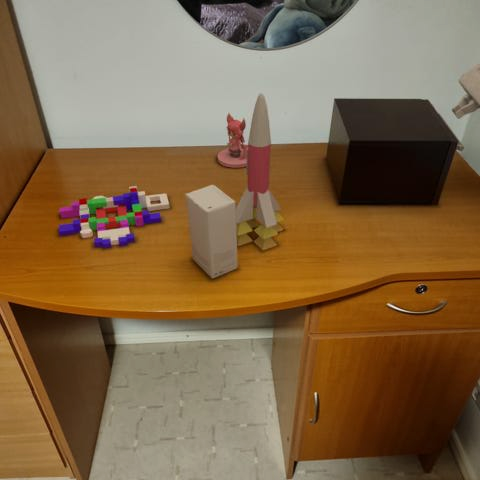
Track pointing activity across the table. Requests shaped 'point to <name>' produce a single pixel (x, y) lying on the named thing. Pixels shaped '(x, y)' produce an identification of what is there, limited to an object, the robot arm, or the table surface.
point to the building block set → (124, 219)
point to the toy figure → (234, 145)
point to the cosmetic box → (212, 230)
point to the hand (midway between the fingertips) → (454, 114)
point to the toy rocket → (258, 185)
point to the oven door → (453, 146)
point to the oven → (385, 151)
